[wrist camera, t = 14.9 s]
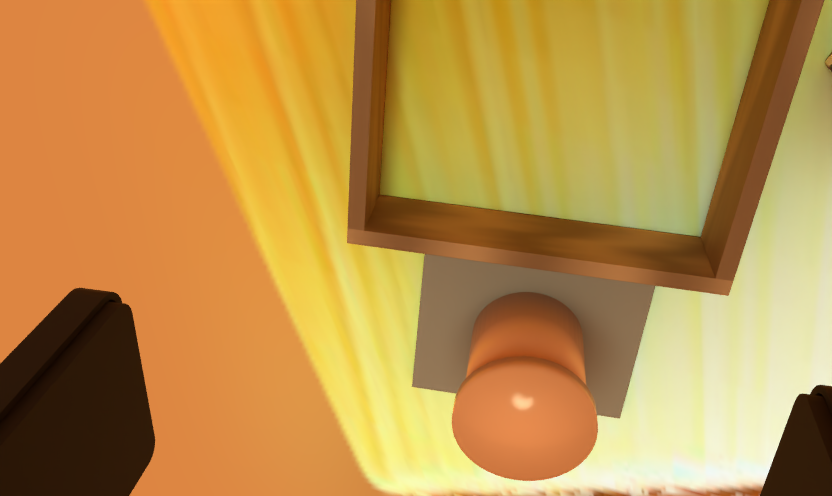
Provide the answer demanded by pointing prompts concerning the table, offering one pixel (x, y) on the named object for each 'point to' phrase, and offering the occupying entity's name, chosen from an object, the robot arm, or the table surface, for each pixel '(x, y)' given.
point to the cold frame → (574, 240)
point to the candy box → (829, 62)
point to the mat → (485, 282)
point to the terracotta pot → (526, 390)
